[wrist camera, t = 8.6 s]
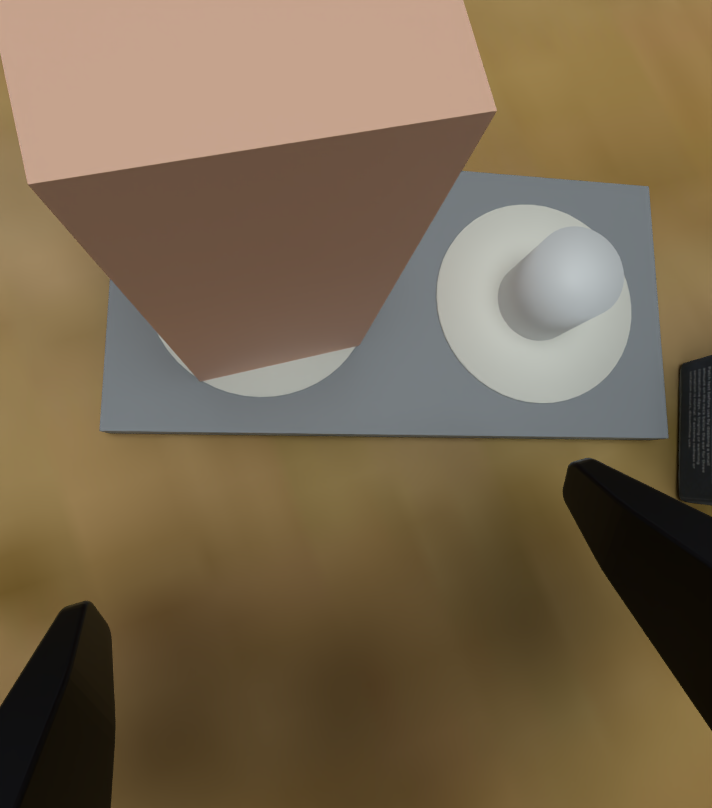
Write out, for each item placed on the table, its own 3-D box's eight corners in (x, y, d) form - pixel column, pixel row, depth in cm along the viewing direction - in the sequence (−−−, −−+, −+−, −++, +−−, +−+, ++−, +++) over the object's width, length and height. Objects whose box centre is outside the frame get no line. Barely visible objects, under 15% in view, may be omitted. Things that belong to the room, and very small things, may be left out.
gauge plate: (650, 439, 21) (736, 431, 17) (109, 433, 18) (60, 421, 14) (632, 199, 22) (708, 139, 18) (127, 159, 19) (88, 78, 15)
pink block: (359, 345, 18) (496, 110, 7) (200, 381, 17) (27, 184, 6) (319, 199, 19) (382, -262, 7) (163, 226, 18) (-63, -249, 6)
